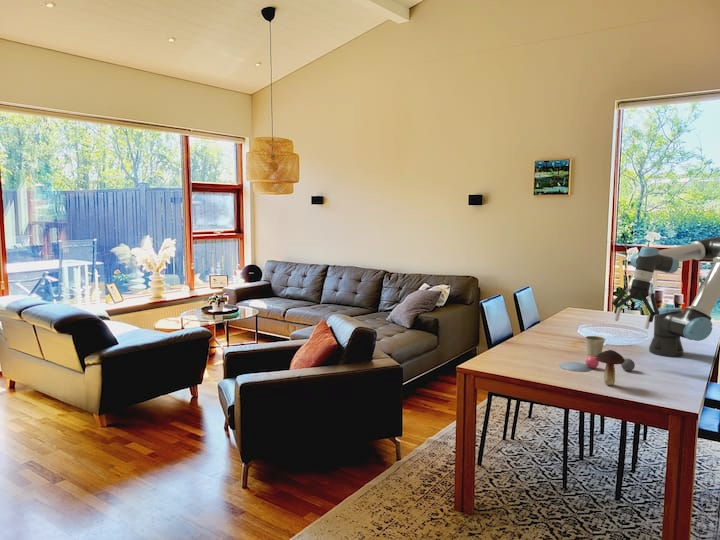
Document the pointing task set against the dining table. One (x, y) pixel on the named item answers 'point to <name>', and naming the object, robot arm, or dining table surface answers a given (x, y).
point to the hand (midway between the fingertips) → (630, 324)
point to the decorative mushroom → (610, 364)
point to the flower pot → (594, 345)
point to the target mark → (575, 366)
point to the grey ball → (628, 365)
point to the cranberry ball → (592, 362)
